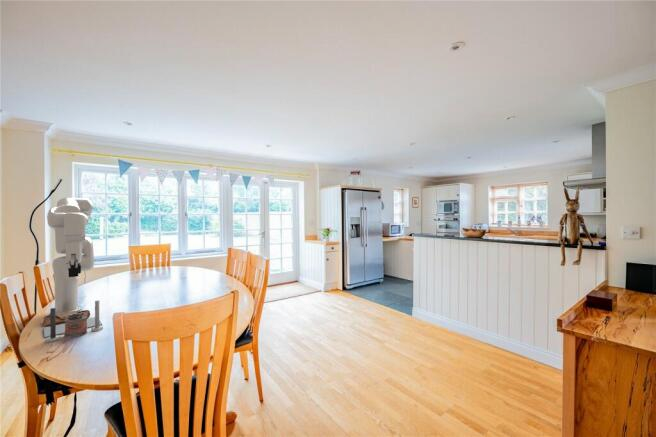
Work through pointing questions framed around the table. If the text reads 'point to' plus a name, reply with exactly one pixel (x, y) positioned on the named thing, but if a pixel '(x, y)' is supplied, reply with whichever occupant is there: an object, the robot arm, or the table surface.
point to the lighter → (75, 325)
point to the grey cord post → (97, 318)
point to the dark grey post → (52, 326)
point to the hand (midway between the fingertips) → (75, 275)
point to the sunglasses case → (62, 318)
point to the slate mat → (61, 328)
